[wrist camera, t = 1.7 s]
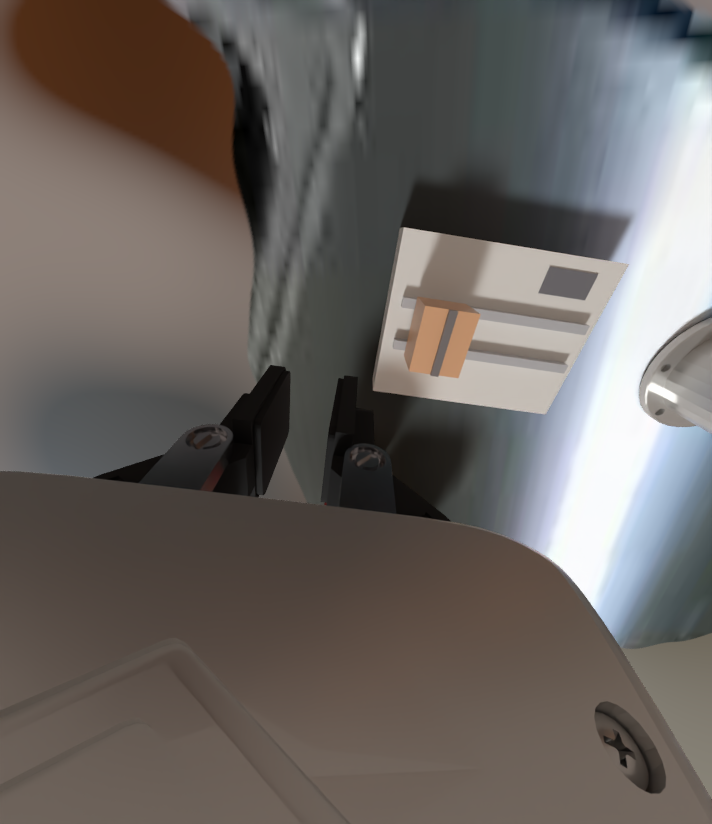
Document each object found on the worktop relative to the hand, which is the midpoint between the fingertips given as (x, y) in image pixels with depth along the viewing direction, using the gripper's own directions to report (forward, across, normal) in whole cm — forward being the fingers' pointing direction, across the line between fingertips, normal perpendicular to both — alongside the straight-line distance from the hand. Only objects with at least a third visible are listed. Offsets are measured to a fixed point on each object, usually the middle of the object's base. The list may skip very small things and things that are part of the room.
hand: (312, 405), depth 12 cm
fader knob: (+16, -8, 0) cm, 18 cm away
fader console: (+19, -13, 0) cm, 23 cm away
